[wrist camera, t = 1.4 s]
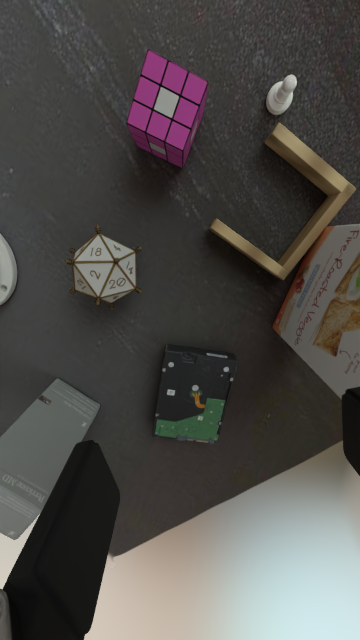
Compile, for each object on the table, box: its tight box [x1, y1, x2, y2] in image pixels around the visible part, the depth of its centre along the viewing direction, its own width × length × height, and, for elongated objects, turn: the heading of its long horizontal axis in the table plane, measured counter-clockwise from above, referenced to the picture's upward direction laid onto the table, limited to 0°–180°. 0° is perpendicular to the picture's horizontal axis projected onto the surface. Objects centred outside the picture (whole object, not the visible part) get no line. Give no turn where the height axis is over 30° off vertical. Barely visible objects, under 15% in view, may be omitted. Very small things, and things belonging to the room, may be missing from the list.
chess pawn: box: [266, 75, 297, 115], centre depth 24 cm, size 3×3×4 cm
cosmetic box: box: [0, 378, 100, 540], centre depth 31 cm, size 8×7×16 cm
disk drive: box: [152, 344, 238, 444], centre depth 36 cm, size 10×3×15 cm
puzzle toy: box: [126, 50, 208, 168], centre depth 24 cm, size 6×6×6 cm
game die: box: [65, 225, 142, 309], centre depth 28 cm, size 9×8×10 cm
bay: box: [208, 123, 356, 280], centre depth 28 cm, size 11×12×2 cm
